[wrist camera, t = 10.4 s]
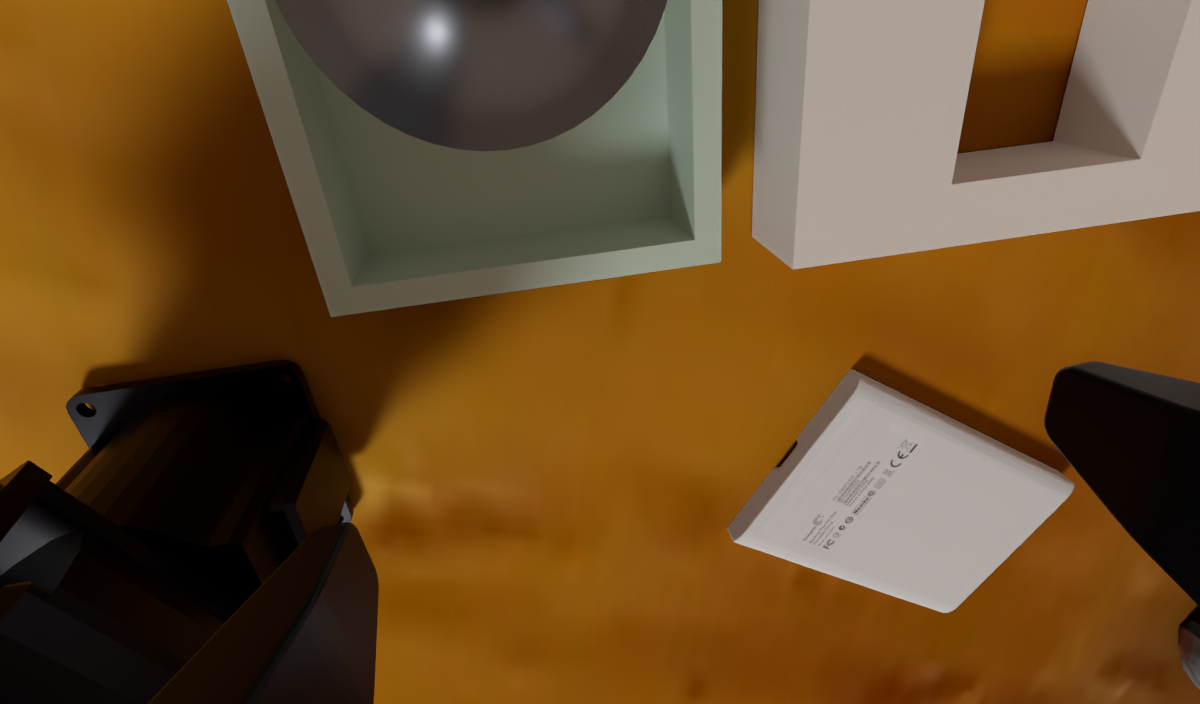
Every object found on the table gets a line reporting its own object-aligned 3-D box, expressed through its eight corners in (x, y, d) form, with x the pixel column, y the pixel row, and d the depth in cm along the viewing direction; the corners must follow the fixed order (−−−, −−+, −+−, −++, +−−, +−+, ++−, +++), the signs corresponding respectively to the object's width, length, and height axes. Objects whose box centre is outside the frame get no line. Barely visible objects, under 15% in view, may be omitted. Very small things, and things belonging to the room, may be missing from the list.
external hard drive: (925, 589, 30) (721, 519, 26) (1049, 462, 27) (843, 359, 23) (947, 618, 28) (735, 548, 24) (1080, 486, 26) (866, 382, 21)
